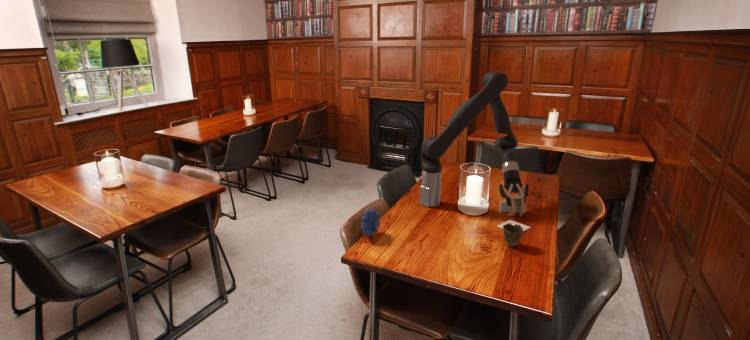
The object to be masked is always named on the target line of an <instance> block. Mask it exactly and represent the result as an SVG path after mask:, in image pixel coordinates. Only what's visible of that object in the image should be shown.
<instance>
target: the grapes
mask: <svg viewBox="0 0 750 340" xmlns="http://www.w3.org/2000/svg"><path fill="white" fill-rule="evenodd" d="M379 219H380V214H379V213H377V210H376V209H373V208H372V209H368V210H366V211H365V214H364V215H363V216H362V217H361V220H362V221H363V222H361V224H360V227H361V228H362V232H363V234H364V235H365V236H366V235H367V236H369V237H372V236H373V235H374V234H375V233H377V232H378V228H379V226H380V224H381V223H380V221H379Z"/></svg>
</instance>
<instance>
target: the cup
mask: <svg viewBox="0 0 750 340" xmlns="http://www.w3.org/2000/svg"><path fill="white" fill-rule="evenodd" d="M502 233H503V239H504V241H505V242H506V245H507V246H508V247H511V248H514V247H516V246H517V244H518V243H520V241H521V239H522V235H523V233H524V232H523V229H522V227H521V226H520V225H517V224H515V226H514V225H512V223H511V224H509V223H508V224H507V225H506V224H505V226H503V229H502Z"/></svg>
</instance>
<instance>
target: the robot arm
mask: <svg viewBox="0 0 750 340" xmlns="http://www.w3.org/2000/svg"><path fill="white" fill-rule="evenodd" d="M481 81H482V82H481V83H482V89H481V90H480V91H479V92H477V93H476V94H474V95H473V96H471V97H470V98H469V99H467V100H465V101H464V102H462V103H461V104H460V105H459V106H458V107H457V108H456V110H454V111H453V113H452V114H451V115H450V118H449V120H448V122H447V125H446V127H445V128H444V129H443V131H442V132H441V133H440V134H439V135H438V136H437V137H434V136H427V137H426V138H425V139H424V140H423V141H422V143H421V145H420V146H421V147H420V150H421V151H420V159H421V161H420V163H421V164H420V165H421V166H422V167H421V169H422V170H421V185H420V189H419V205H422V206H425V207H427V208H431V207H434V208H435V207H438V206H439V205H440V203H441V190H442V189H441V187H442V169H443V168H442V164H441V160H440V158H441V157H443V156H444V155H445V153H446V152H447V150H449V148H450V147H451V146H452V144H453V142H454V141H455V140H456V139H457V138H458V137H459V136H460V135H461V134H462V133H463V132H464V131H465V129H466V128H467V127H468V126H469V125H470V124H472V122H473V121H474V120H475V119H476V118H477V117H478V115H480V114H481V112H482V111H483V110H484V109H486V107H487V106H488V105H489V106H490V110H491V113H492V118H493V122H494V127H495V132H496V133H497V134H500V135H501V134H504V136H499V137H497V138H496V139H495V141H494V146H495V148H496V150H497V152H498V154H499V157H500V160H501V170H502V177H503V182H504V183H503V184H499V185H498V187H497V189H498V191H499V194H500V196H501V199H502V198H503V199H505V201H506V202H507V205H508V206H511V200H510V196H511V194H512V193H514V194H517V196H523V198H524V204H525V201H526V199H527V198H528V196H529V191H530V190H529V187H530V186H529V184H528V183H526V184H523V183H522V181H521V174H520V167H519V165H518V160H517V154H516V153H515V152H513V151H510V150H515V149H517V147H518V143H519V142H518V140H517V138H516V136H515V134H514V132H513V130H512V126H511V122H510V117H509V113H508V110H507V108H506V107H505V105H504V102H503V100H502V97H501V93H502V92H503V91H504V90H505V89H506V87H507V86H508V82H509V78H508V75H507V74H505V73H503V72H499V71H488V72H486V73H484V75H483V76H482V80H481ZM504 188H505V190H506V193H505V190H504ZM522 188H523V190H524V191H523V190H522Z"/></svg>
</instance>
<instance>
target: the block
mask: <svg viewBox="0 0 750 340" xmlns="http://www.w3.org/2000/svg"><path fill="white" fill-rule="evenodd" d="M515 207H516V213H519V211H518V205H517V204H515ZM526 209H527V201H526V200H525V210H526ZM498 211H499V213H509V207H508V205H507V202H506V200H500V201H499V207H498ZM526 211H527V210H526Z"/></svg>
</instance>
